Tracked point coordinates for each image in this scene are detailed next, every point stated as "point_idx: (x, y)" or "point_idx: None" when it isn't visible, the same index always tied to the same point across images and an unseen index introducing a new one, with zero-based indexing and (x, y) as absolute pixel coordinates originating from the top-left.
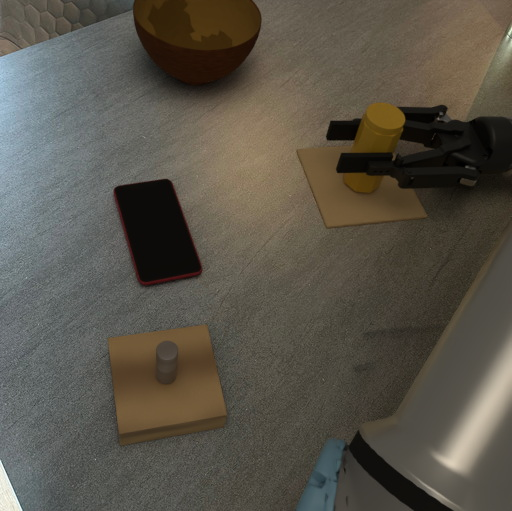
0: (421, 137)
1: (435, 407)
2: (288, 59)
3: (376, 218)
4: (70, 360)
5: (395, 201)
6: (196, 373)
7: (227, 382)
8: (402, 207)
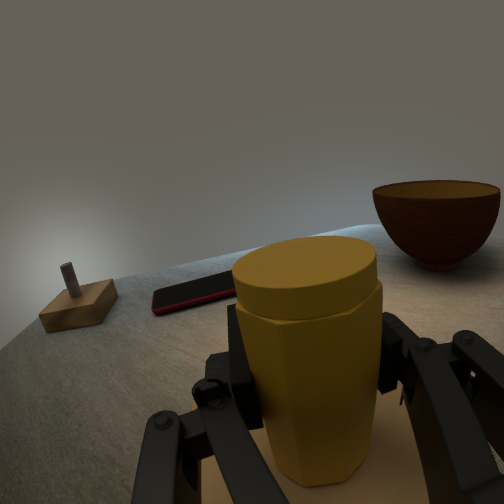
0: (440, 496)
1: None
2: None
3: (203, 478)
4: (122, 287)
5: None
6: (67, 303)
7: (66, 333)
8: None
